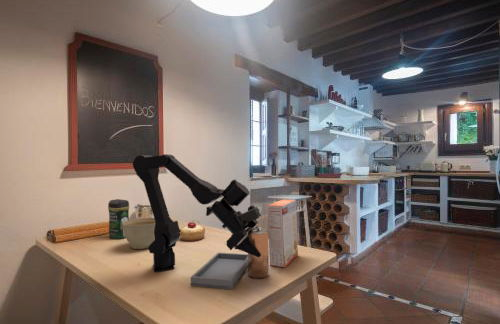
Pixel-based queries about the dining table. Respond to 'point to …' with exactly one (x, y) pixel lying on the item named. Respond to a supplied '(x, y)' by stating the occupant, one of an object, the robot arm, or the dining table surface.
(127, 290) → the dining table surface
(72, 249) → the dining table surface
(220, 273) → the gray tray
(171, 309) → the dining table surface
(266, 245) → the copper cylinder
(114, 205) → the coffee jar
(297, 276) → the dining table surface
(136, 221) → the planter bowl
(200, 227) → the pastry
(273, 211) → the cracker box
